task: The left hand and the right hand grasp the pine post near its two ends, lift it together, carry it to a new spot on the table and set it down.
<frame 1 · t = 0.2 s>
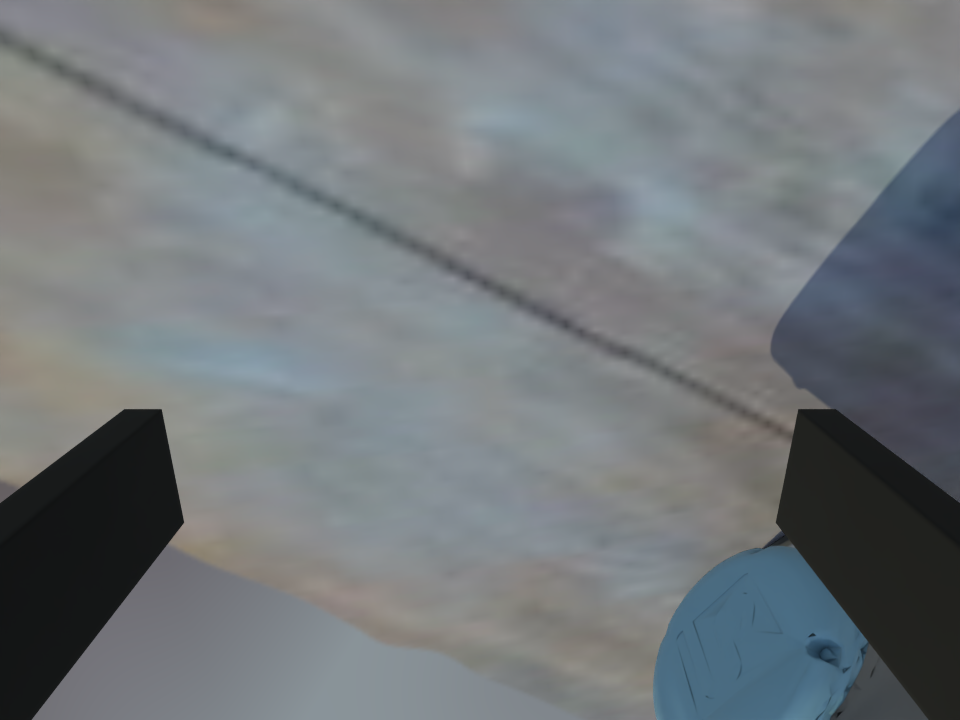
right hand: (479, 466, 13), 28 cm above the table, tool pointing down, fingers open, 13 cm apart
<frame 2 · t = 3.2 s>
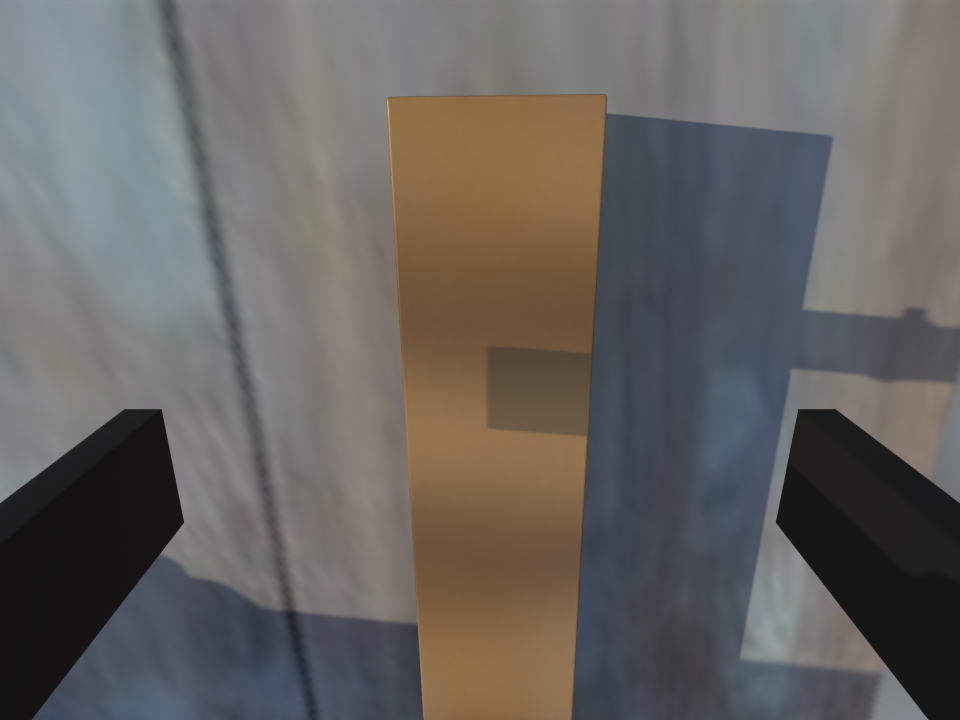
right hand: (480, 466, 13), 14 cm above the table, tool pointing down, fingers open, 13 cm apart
post: (493, 619, 32), on the table, touching left hand
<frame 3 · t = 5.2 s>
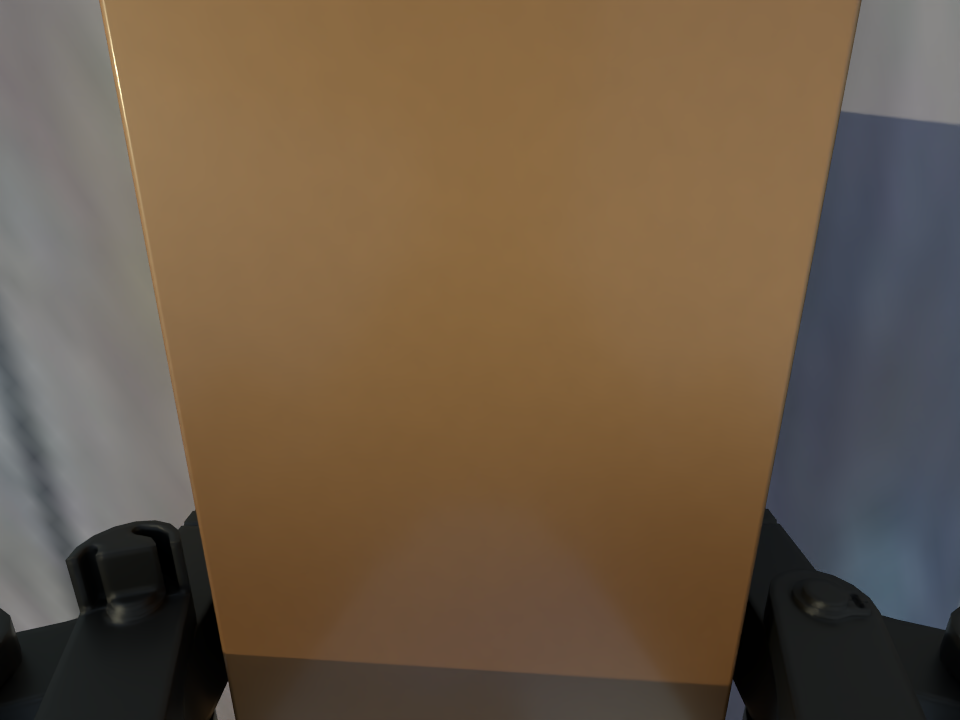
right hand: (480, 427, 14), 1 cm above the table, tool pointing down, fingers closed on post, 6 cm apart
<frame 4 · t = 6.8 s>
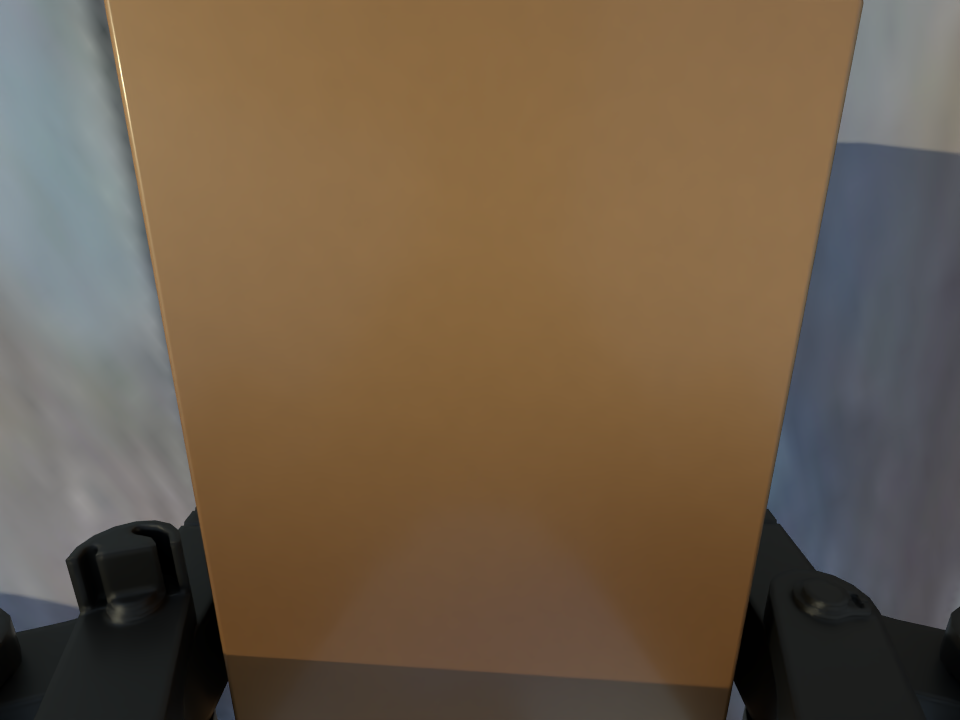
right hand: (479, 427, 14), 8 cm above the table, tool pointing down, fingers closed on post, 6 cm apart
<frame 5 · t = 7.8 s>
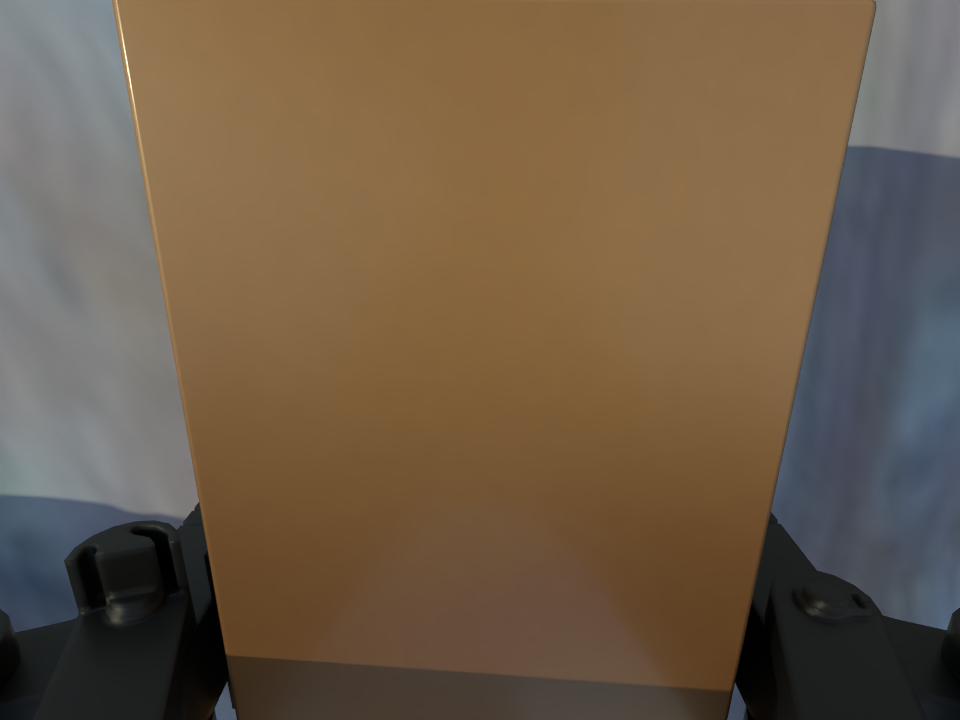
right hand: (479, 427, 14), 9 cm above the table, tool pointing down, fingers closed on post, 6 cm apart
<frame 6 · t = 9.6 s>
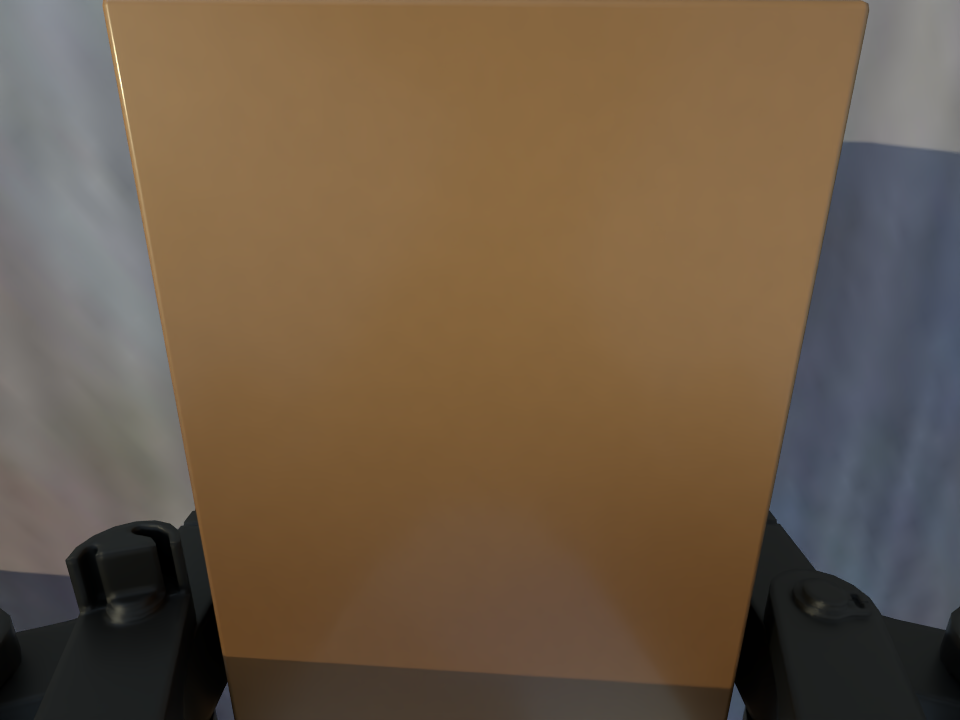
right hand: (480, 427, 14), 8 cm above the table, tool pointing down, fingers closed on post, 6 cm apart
when the left hand's fingers open (2 cm above the table, at t = 10.7 s): post drops 1 cm, on the table.
when the right hand's fingers open (2 cm above the table, at t = 10.7 s): post drops 1 cm, on the table.
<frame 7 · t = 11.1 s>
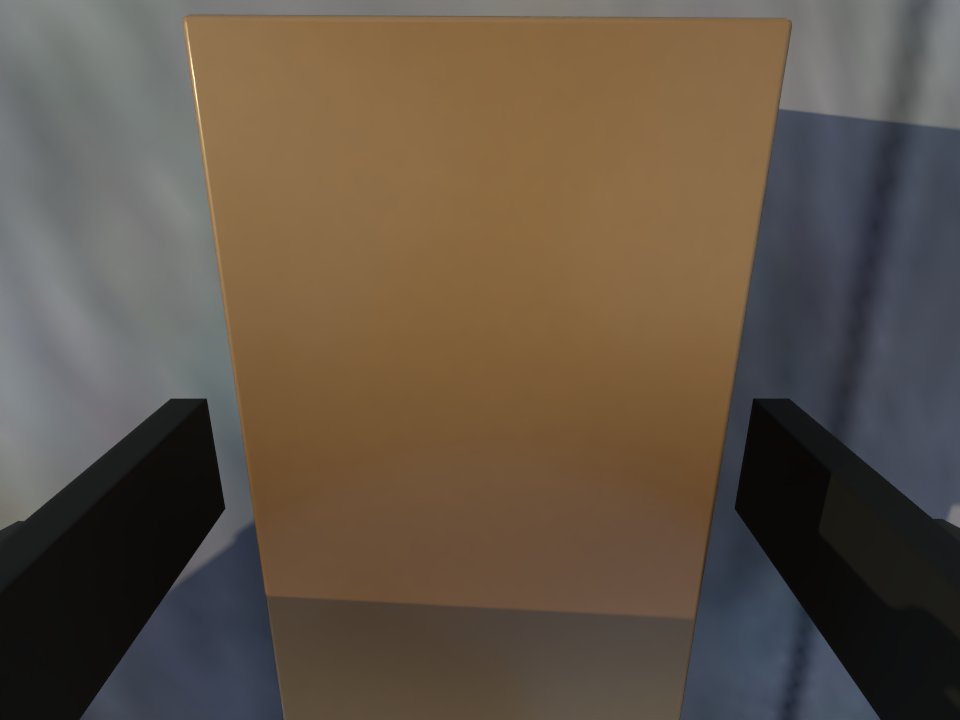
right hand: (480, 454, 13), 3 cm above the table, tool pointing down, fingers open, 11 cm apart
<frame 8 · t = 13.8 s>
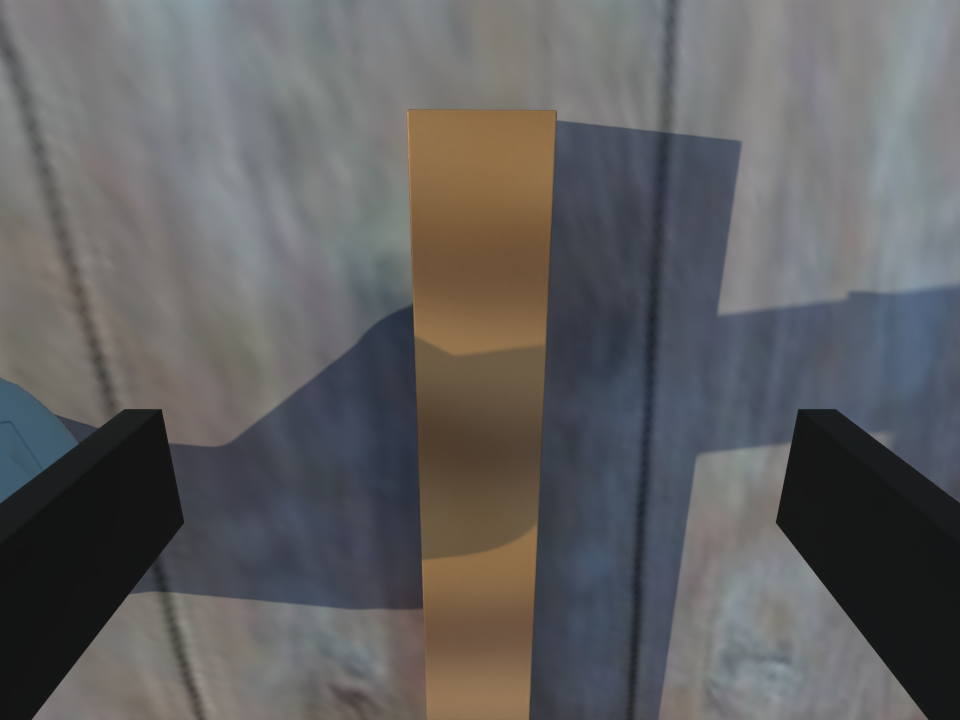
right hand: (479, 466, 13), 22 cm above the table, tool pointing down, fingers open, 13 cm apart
post: (479, 531, 39), on the table
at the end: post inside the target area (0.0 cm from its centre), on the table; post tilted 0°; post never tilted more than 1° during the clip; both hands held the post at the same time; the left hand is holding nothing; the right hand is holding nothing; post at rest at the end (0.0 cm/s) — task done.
